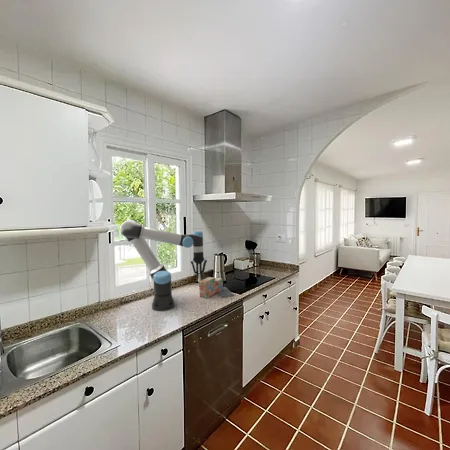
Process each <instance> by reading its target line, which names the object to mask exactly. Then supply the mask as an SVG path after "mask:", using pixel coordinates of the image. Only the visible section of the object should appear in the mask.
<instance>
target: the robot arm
mask: <svg viewBox="0 0 450 450" xmlns="http://www.w3.org/2000/svg"><path fill="white" fill-rule="evenodd" d="M119 230H120V231H119V232H120V234H121V235H122V236H124V237H125V238H126V240H127V241H128V243H132V245H133V247H134V248H135V250H136V252H137V253H138V254H139V256H140V258H141V259H142V261H143V262H144V264H145V266H146V267H147V269H148V270H149V271H148V273H149V276H150V277H151V279H152V281H153V295H154V296H153V300H152V302H151V308H152V310H154V311H160V312H161V311H168V310H171V309H173V308H174V307H175V305H176V303H175V299H174V296H173V295H172V294H173V293H172V274H171V272H170V271H168V270H167V269H166V267H165V266H164V264H161V263H160V261H159V259H158V258H157V257H156V255H155V254H154V251H153V250H152V249H151V247H150V246H149V244H148V242H147V241H146V240H151V241H155V242H160V243H165V244H171V245H175V246H180V247H184V248H186V249H187V248H188V249H189V248H191V247H193V249H192V250H193V258H192V260H191V261H189V263H190V264H191V266H192V270H193V273H194V274H196V279H197V282H198V283H199V281H201V280H202V277H203V274H205V270H206V269H205V268H206V265H207V262H208V260H207V259H205V257H204V234H203V232H202V231H201V230H200V231H198V230H197V231H192V234H191V233H190V234H179V233H174V232H169V231H165V230H160V229H156V228H153V227H146V226H145V225H143V224H140V223H138V221H136V220H134V219H128V220H125V221H123V222H122V223H121V224H120V228H119ZM194 263H195V264H194Z"/></svg>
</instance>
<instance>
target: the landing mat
mask: <svg viewBox="0 0 450 450" xmlns="http://www.w3.org/2000/svg"><path fill="white" fill-rule="evenodd" d="M216 294H218V295H219V296H220V298H228V297H229V298H230V297H235V294H234V293H233V292H232V291H231V290H229V288H227V287H226V286H223V290H221V291H219V292H217V293H216Z"/></svg>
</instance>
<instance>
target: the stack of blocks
mask: <svg viewBox="0 0 450 450" xmlns="http://www.w3.org/2000/svg"><path fill="white" fill-rule="evenodd" d="M198 284H199V285H198V287H199V297H200V298H204V299H207V298H210V297H211V296H214V295H215V294H218V293H217V292H219V291H221V290H223V287H224V280H223V278H221V277H211V276H209V277H206V278H204V279H201V281H199V282H198Z"/></svg>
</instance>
